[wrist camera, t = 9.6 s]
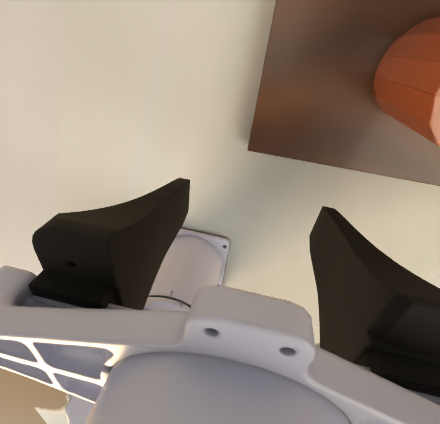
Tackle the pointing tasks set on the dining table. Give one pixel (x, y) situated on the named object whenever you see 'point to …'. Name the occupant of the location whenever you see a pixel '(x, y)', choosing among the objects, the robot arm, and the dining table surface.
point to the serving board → (338, 88)
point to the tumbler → (412, 80)
